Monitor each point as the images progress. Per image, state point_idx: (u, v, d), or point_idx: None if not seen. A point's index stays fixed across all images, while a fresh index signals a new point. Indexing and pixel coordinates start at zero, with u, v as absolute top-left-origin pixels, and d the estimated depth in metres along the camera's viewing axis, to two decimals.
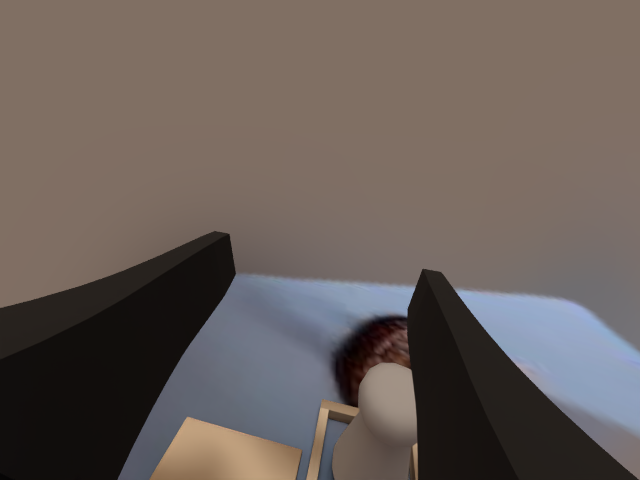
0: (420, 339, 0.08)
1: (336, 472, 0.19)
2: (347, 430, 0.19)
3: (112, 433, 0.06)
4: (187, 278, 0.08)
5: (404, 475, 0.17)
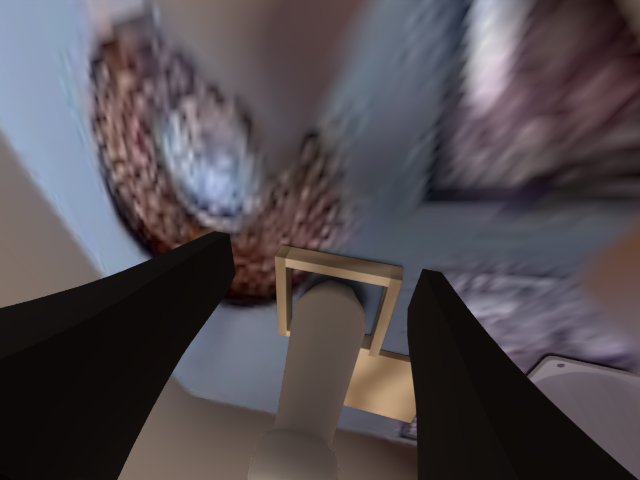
0: (420, 339, 0.08)
1: None
2: None
3: (112, 433, 0.06)
4: (187, 278, 0.08)
5: (342, 356, 0.16)
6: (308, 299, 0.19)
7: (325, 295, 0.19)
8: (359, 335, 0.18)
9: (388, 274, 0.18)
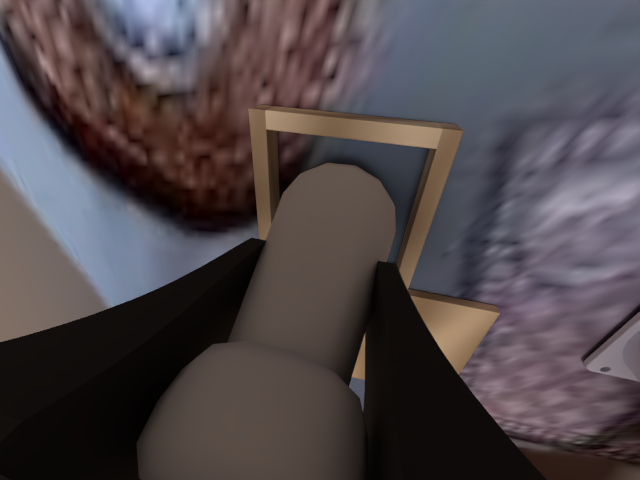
0: (371, 328, 0.08)
1: None
2: None
3: None
4: (232, 288, 0.08)
5: (363, 240, 0.09)
6: (303, 176, 0.11)
7: (330, 166, 0.11)
8: (388, 228, 0.11)
9: (437, 126, 0.11)
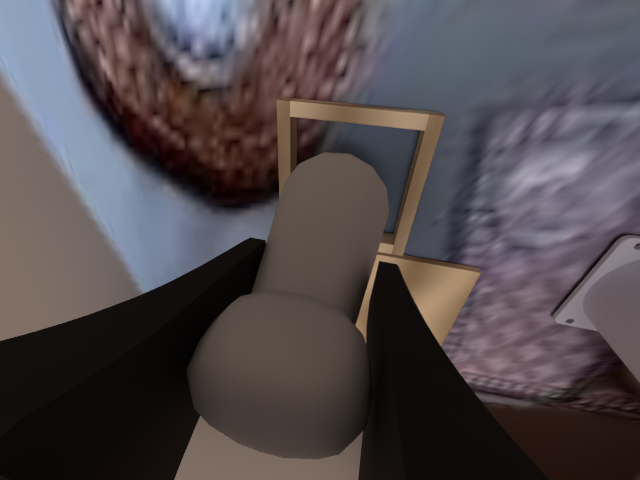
0: (372, 328, 0.08)
1: None
2: None
3: (165, 450, 0.06)
4: (231, 287, 0.08)
5: (360, 216, 0.10)
6: (302, 165, 0.13)
7: (327, 155, 0.12)
8: (382, 208, 0.12)
9: (425, 113, 0.14)
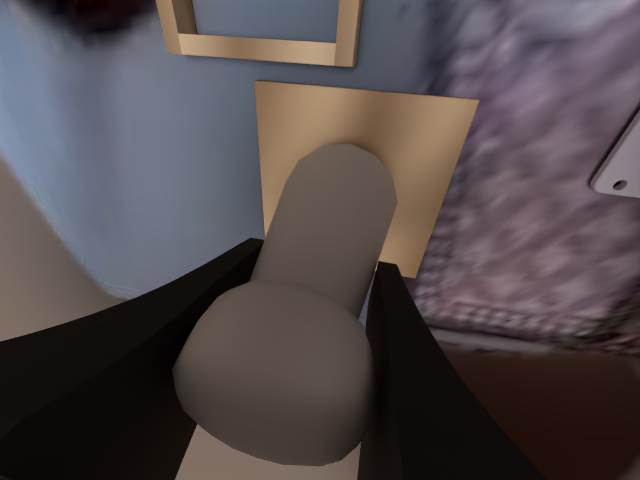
0: (371, 328, 0.08)
1: None
2: None
3: (166, 450, 0.06)
4: (231, 287, 0.08)
5: (361, 203, 0.09)
6: (302, 160, 0.12)
7: (327, 147, 0.12)
8: (388, 196, 0.11)
9: None
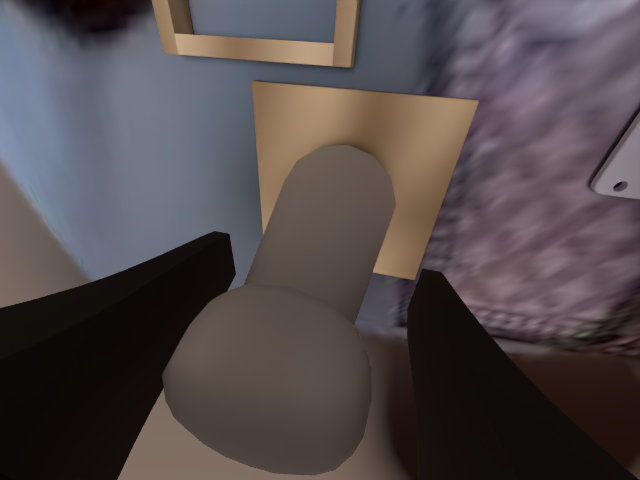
0: (420, 339, 0.08)
1: None
2: None
3: (112, 433, 0.06)
4: (187, 278, 0.08)
5: (358, 205, 0.09)
6: (300, 161, 0.12)
7: (325, 148, 0.12)
8: (386, 197, 0.11)
9: None
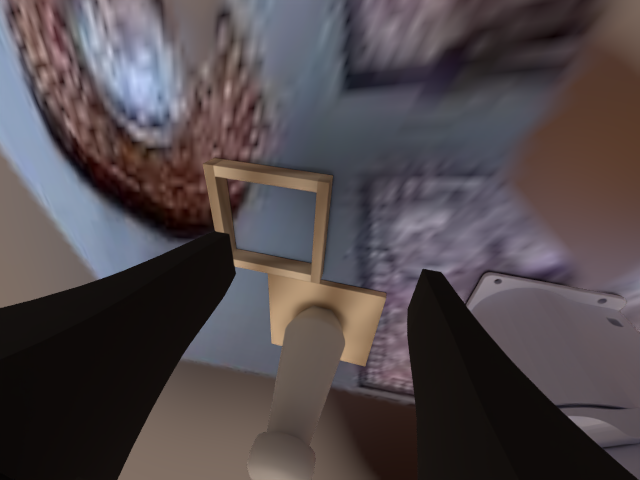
0: (420, 339, 0.08)
1: None
2: None
3: (112, 433, 0.06)
4: (187, 278, 0.08)
5: (319, 371, 0.20)
6: (293, 325, 0.23)
7: (306, 321, 0.23)
8: (336, 352, 0.22)
9: (316, 178, 0.18)
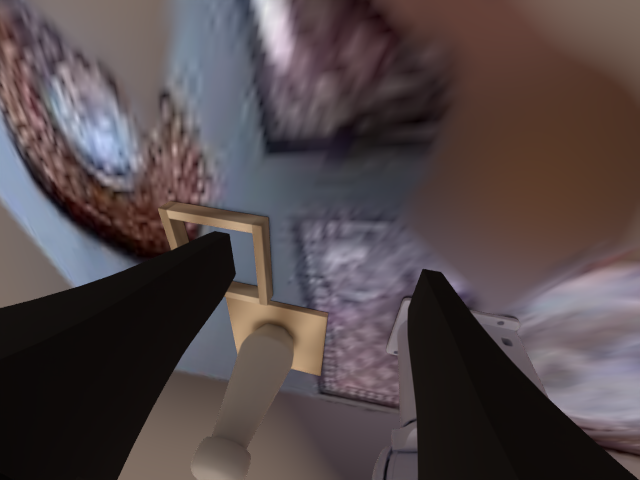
0: (420, 339, 0.08)
1: None
2: None
3: (112, 433, 0.06)
4: (187, 278, 0.08)
5: (261, 384, 0.23)
6: (246, 342, 0.26)
7: (257, 338, 0.26)
8: (281, 366, 0.25)
9: (251, 222, 0.21)
